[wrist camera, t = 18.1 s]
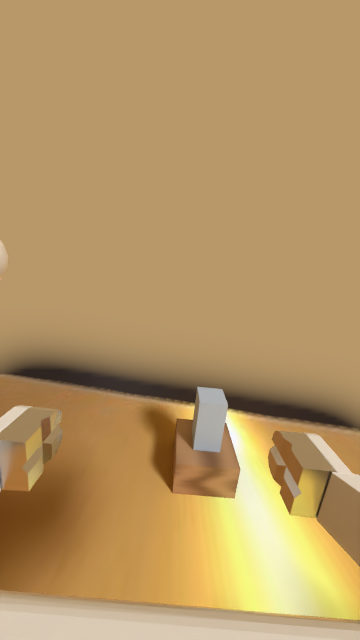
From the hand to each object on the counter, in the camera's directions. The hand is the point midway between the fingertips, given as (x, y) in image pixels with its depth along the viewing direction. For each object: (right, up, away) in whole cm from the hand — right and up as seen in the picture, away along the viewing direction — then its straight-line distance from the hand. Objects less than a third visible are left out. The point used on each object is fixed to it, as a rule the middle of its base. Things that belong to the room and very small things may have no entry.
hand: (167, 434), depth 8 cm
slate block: (+5, -17, +28) cm, 33 cm away
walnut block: (+4, -23, +29) cm, 38 cm away
